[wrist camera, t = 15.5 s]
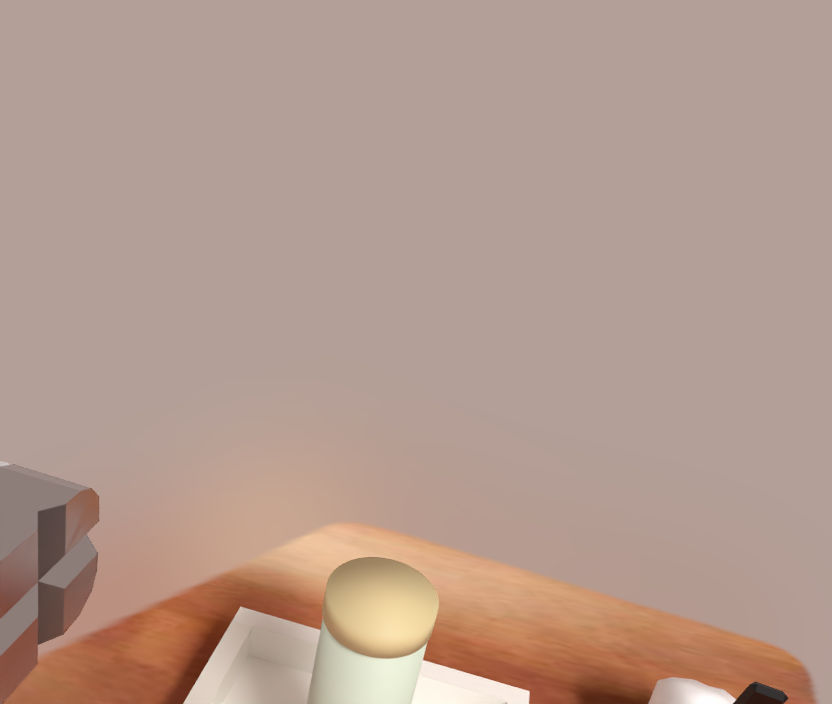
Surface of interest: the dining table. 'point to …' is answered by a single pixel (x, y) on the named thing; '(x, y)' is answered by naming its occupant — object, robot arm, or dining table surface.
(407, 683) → the tea tin
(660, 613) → the dining table surface
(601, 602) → the dining table surface
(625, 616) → the dining table surface
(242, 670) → the dish
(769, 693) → the cocoa
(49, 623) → the robot arm
